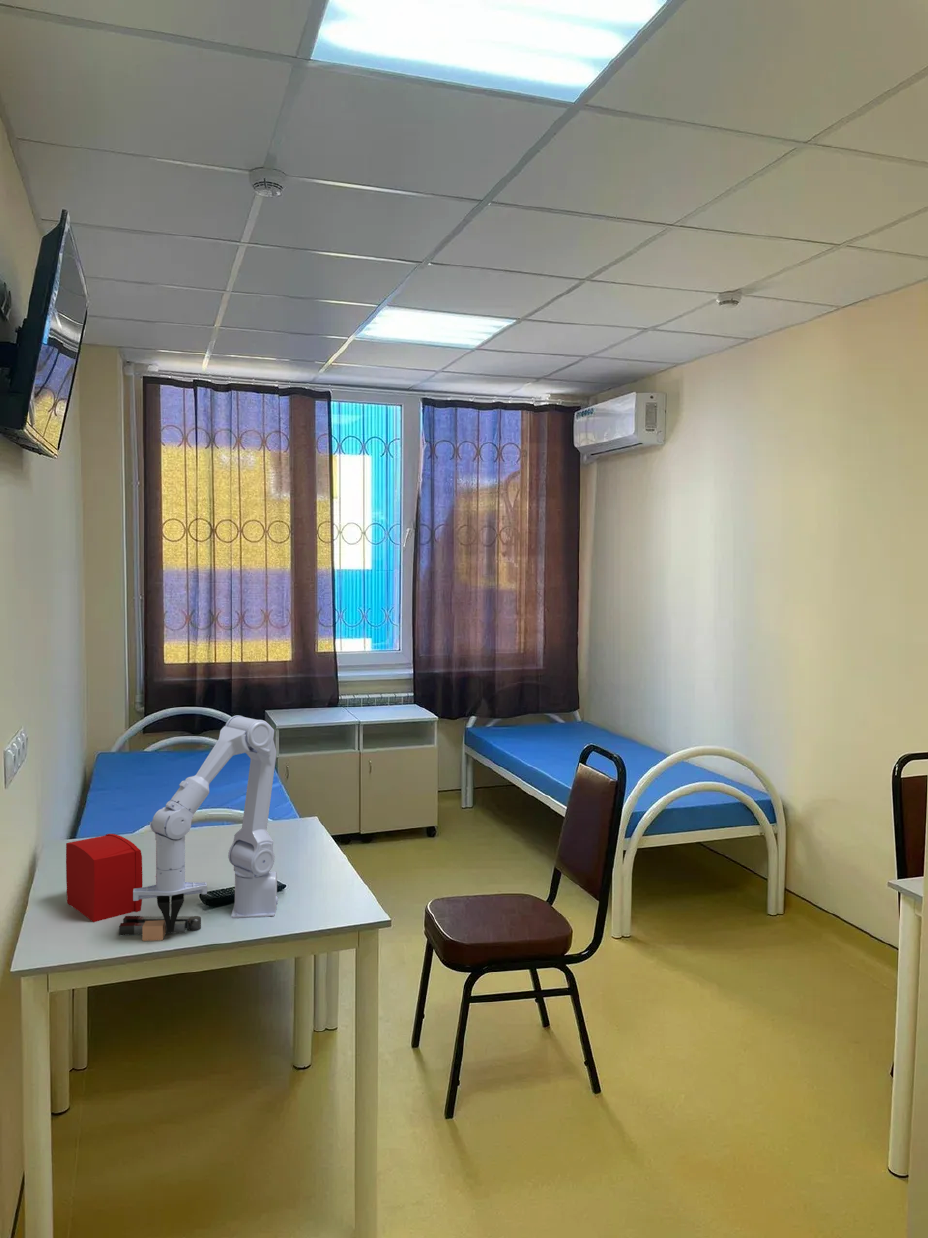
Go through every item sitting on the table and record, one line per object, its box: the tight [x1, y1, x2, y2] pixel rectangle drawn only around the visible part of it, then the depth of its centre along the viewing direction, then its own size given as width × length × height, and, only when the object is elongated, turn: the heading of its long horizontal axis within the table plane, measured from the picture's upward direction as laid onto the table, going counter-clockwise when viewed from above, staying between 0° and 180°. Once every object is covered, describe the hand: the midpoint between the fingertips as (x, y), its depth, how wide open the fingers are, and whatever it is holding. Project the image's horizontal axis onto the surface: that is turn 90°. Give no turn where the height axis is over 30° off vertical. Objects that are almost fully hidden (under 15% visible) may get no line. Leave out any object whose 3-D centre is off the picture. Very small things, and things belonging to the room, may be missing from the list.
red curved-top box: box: [65, 833, 143, 923], centre depth 201 cm, size 16×11×15 cm
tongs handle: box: [118, 921, 187, 936], centre depth 187 cm, size 13×2×2 cm, turn 99°
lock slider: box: [142, 920, 166, 942], centre depth 185 cm, size 4×3×3 cm
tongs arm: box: [122, 915, 202, 932], centre depth 189 cm, size 16×3×2 cm, turn 93°
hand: (170, 930), depth 185 cm, fingers closed
